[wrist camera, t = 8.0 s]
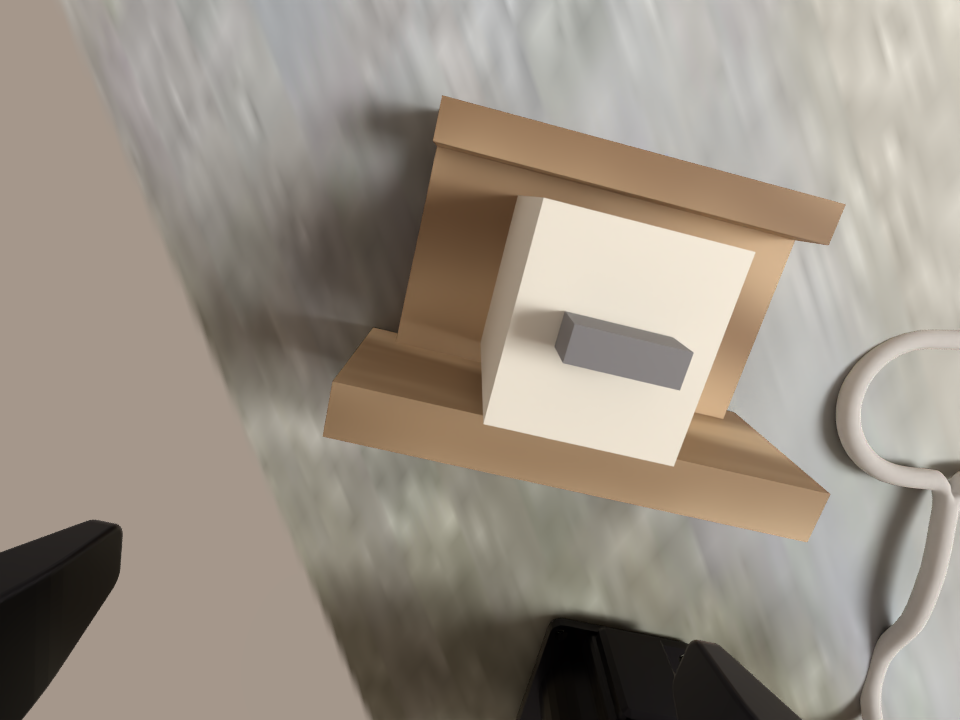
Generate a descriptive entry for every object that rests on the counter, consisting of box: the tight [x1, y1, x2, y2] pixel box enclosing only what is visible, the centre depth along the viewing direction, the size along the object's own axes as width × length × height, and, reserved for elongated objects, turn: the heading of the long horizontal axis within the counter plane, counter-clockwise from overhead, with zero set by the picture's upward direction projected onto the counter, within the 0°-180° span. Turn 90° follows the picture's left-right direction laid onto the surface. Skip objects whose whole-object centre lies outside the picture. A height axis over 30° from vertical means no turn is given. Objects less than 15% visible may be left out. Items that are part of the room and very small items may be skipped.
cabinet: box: [481, 195, 755, 467], centre depth 15 cm, size 5×4×8 cm
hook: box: [836, 330, 960, 720], centre depth 21 cm, size 7×9×20 cm
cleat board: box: [323, 95, 846, 542], centre depth 17 cm, size 9×14×6 cm, turn 76°
